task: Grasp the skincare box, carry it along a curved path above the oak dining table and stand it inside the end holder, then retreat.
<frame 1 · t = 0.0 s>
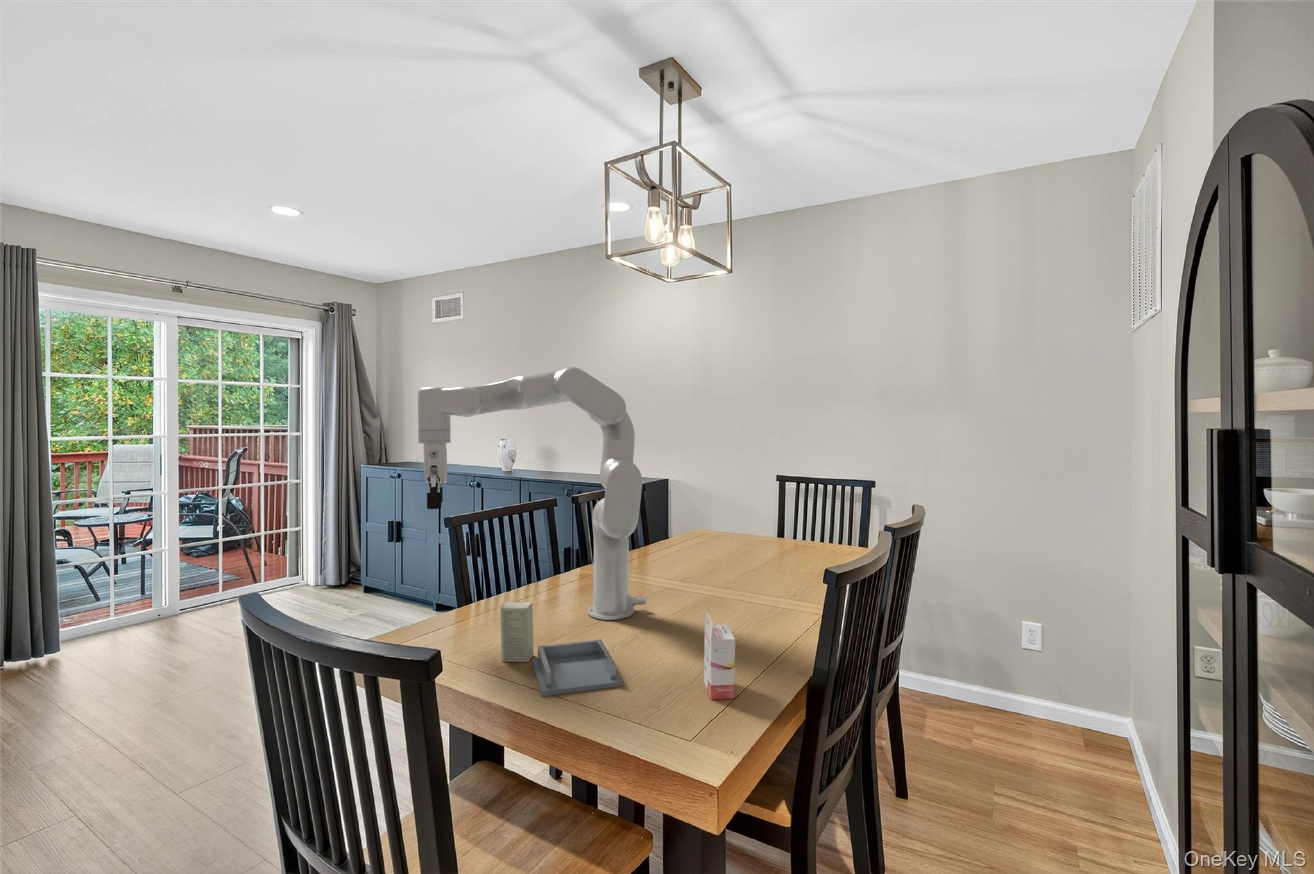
hand: (435, 505, 152), 31 cm above the table, tool pointing down, fingers open, 9 cm apart
end holder: (575, 674, 128), on the table
skincare box: (517, 659, 136), on the table
ink cartridge box: (719, 690, 121), on the table
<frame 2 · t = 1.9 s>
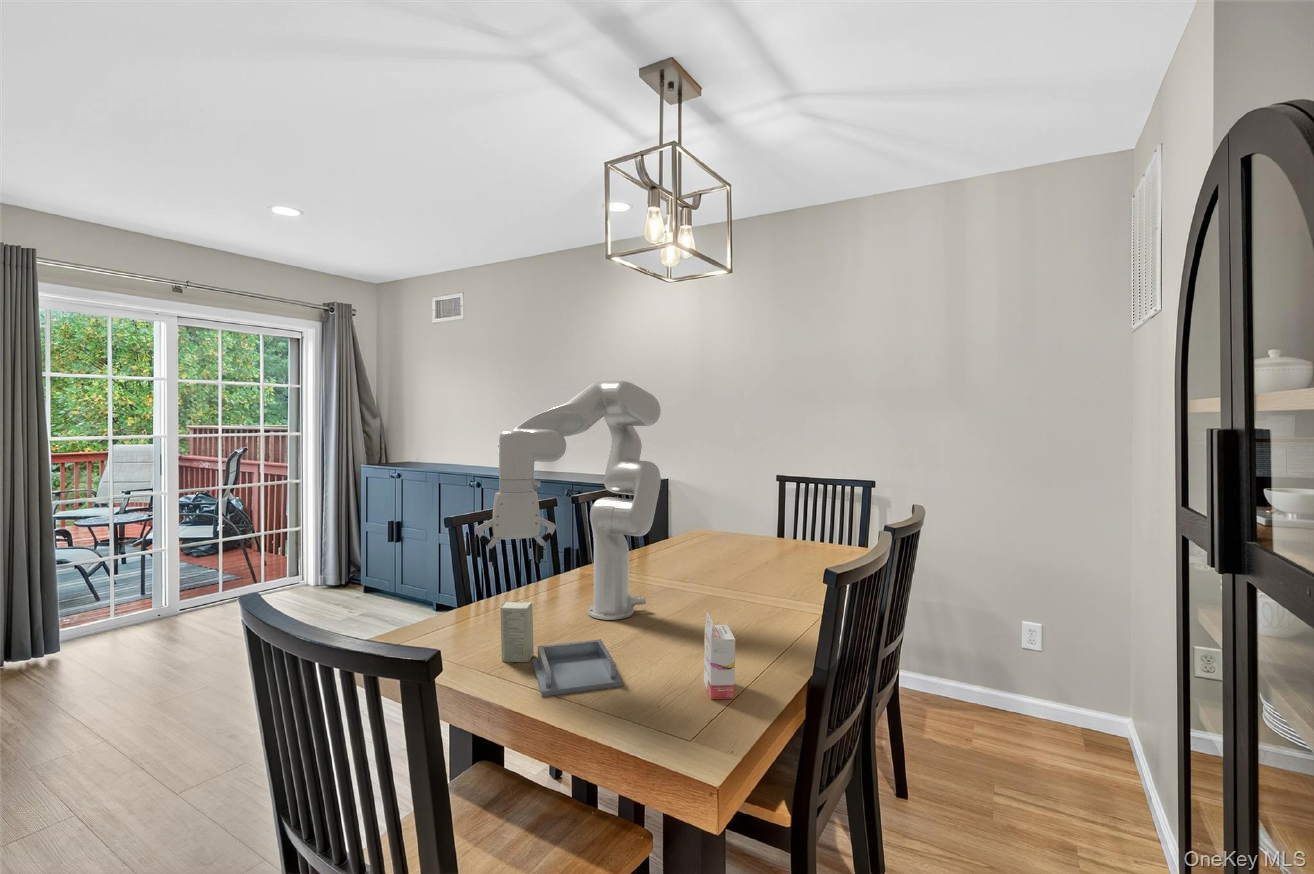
hand: (516, 563, 135), 21 cm above the table, tool pointing down, fingers open, 9 cm apart
nothing on the table moved.
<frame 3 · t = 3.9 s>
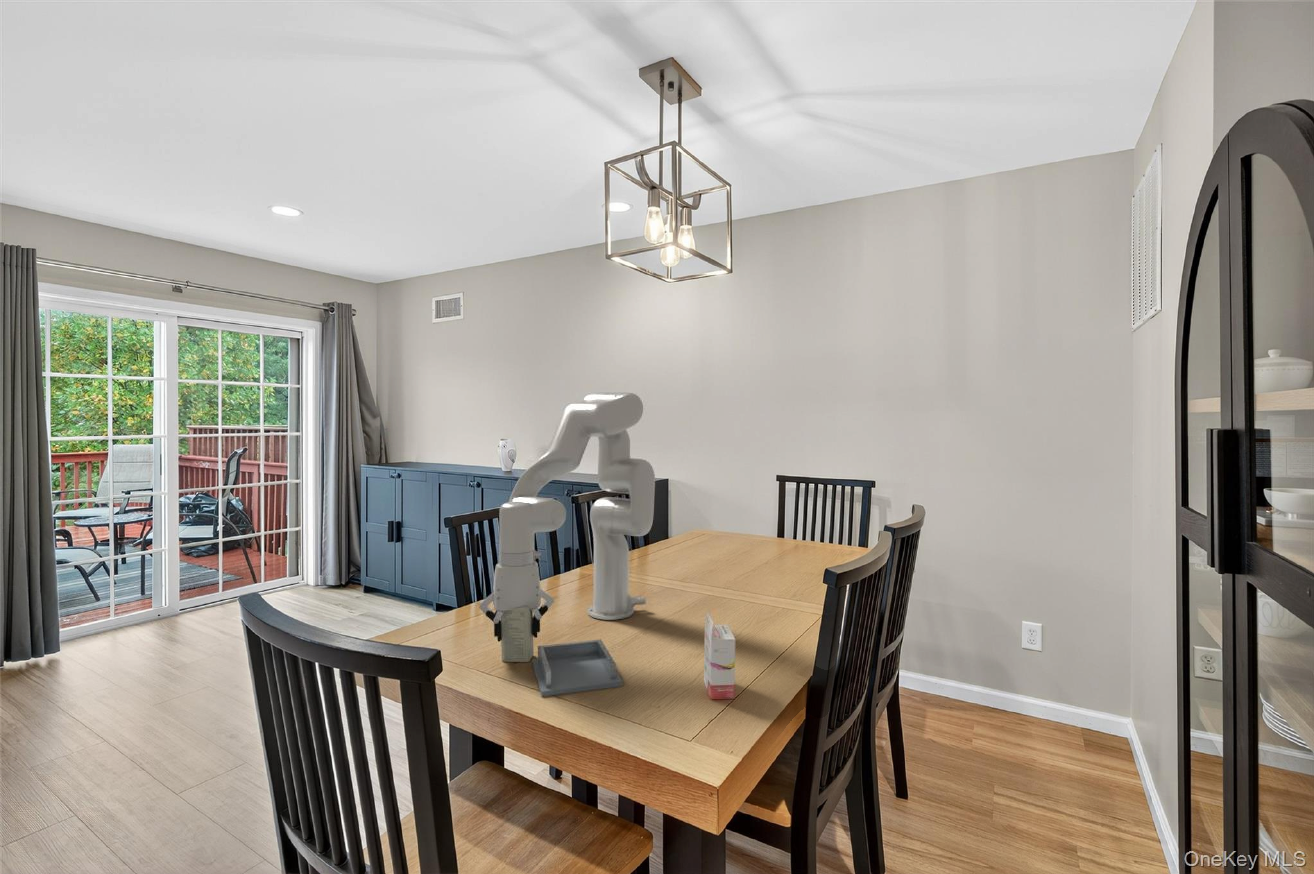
hand: (517, 636, 136), 5 cm above the table, tool pointing down, fingers closed on skincare box, 7 cm apart
skincare box: (517, 659, 136), on the table, touching gripper
everything else where it was.
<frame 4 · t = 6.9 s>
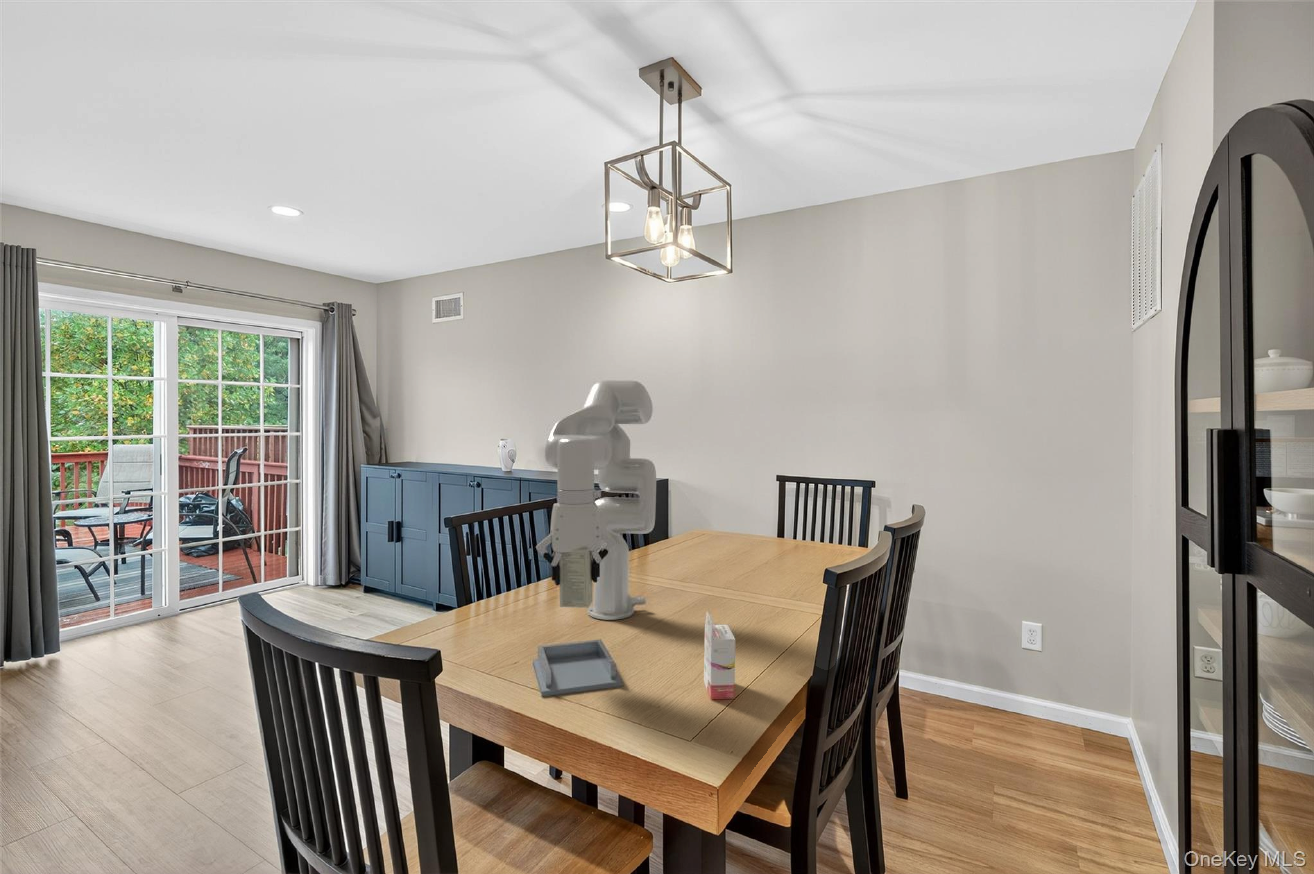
hand: (575, 581, 127), 20 cm above the table, tool pointing down, fingers closed on skincare box, 7 cm apart
skincare box: (575, 605, 127), point 15 cm above the table, touching gripper
everything else where it was.
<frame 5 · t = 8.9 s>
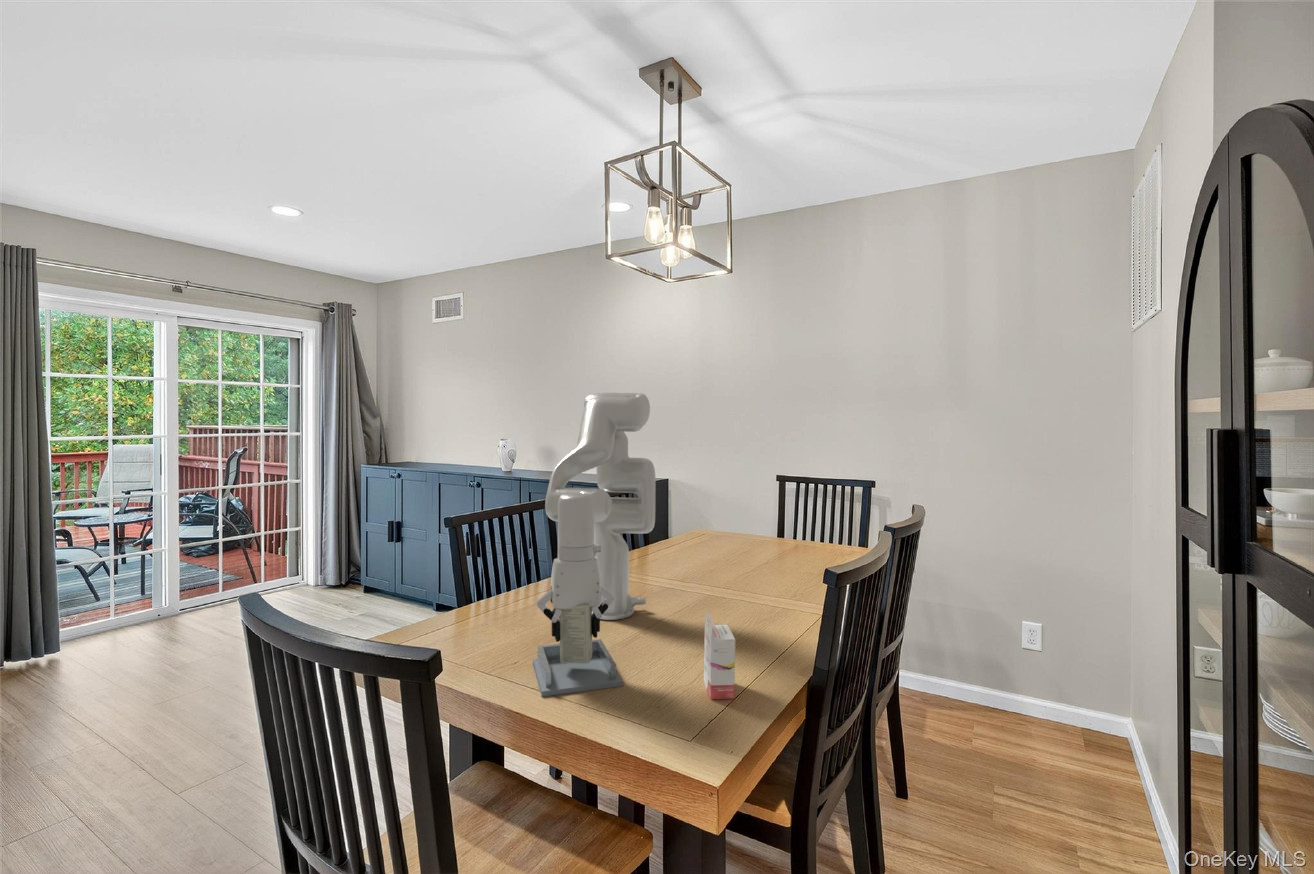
hand: (575, 636, 127), 8 cm above the table, tool pointing down, fingers closed on skincare box, 7 cm apart
skincare box: (575, 660, 127), point 3 cm above the table, touching gripper
everything else where it was.
when the fingers open (7 cm above the table, at t = 10.2 s): skincare box stays where it is, resting on end holder.
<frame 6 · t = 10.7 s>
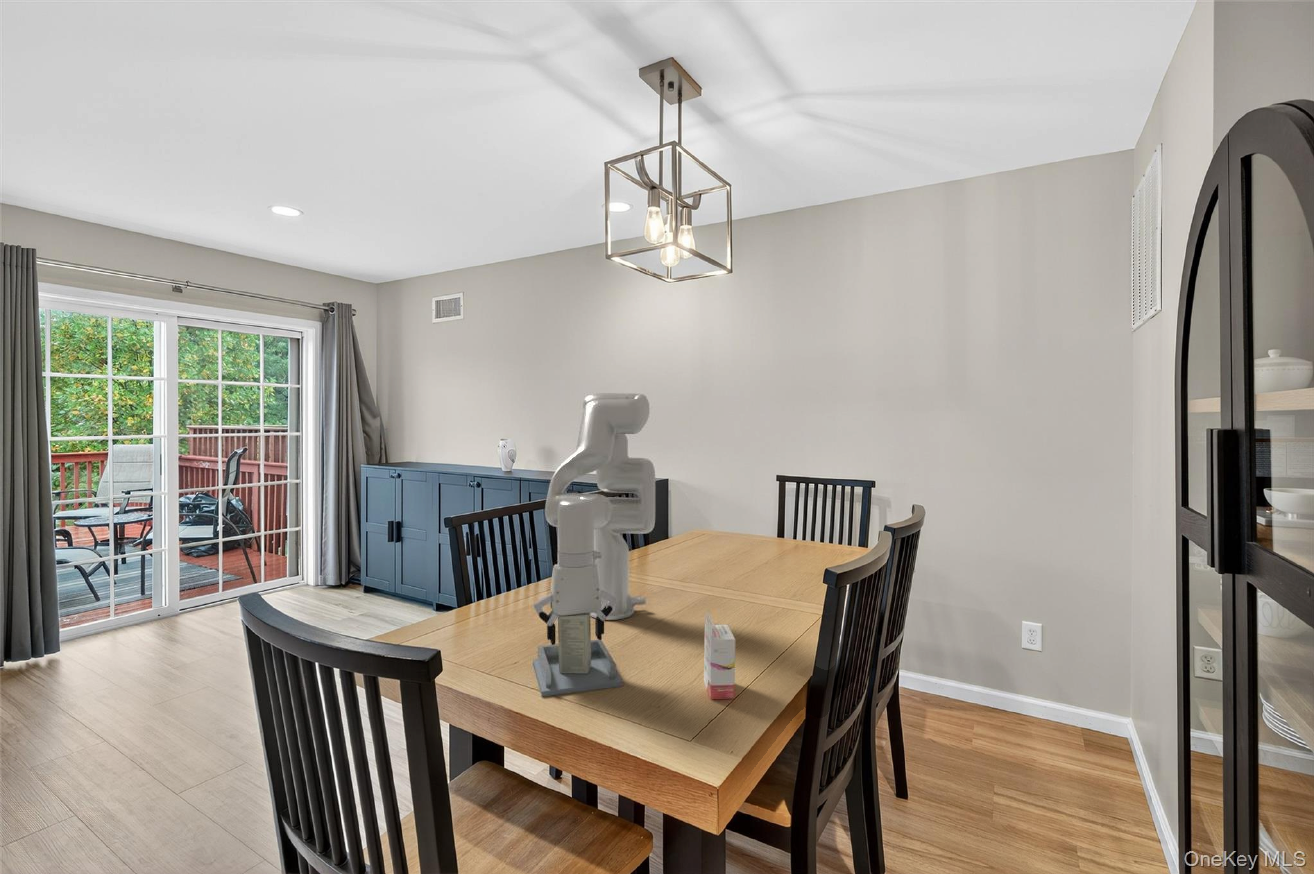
hand: (575, 640, 127), 7 cm above the table, tool pointing down, fingers open, 9 cm apart
skincare box: (574, 670, 128), point 1 cm above the table, touching end holder
everything else where it was.
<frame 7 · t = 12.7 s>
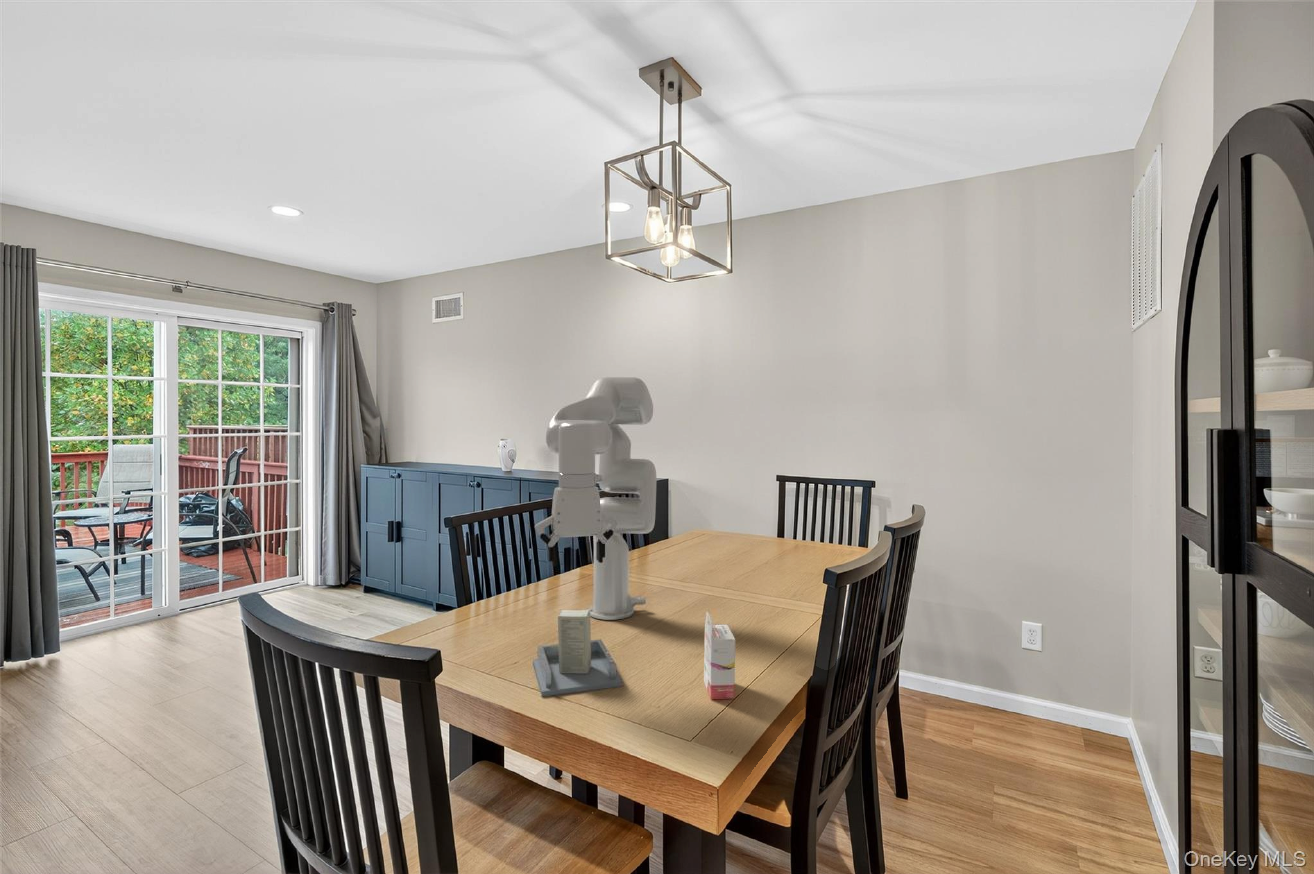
hand: (576, 562, 128), 23 cm above the table, tool pointing down, fingers open, 9 cm apart
nothing on the table moved.
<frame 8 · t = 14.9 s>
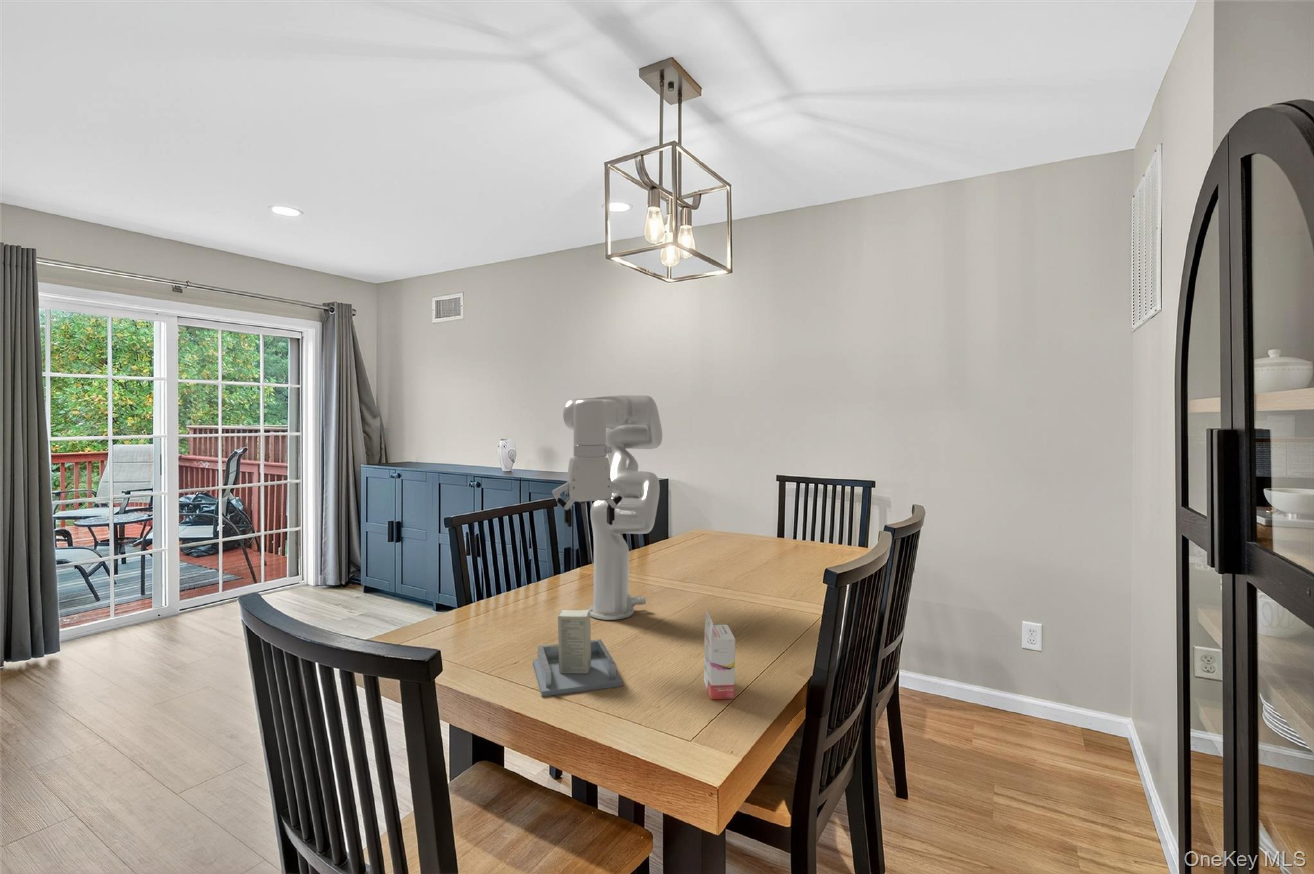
hand: (589, 524, 144), 28 cm above the table, tool pointing down, fingers open, 9 cm apart
nothing on the table moved.
at the end: skincare box inside the target area on the end holder (0.2 cm from its centre), point 0.8 cm above the end holder's base; skincare box tilted 0°; the gripper is holding nothing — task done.
